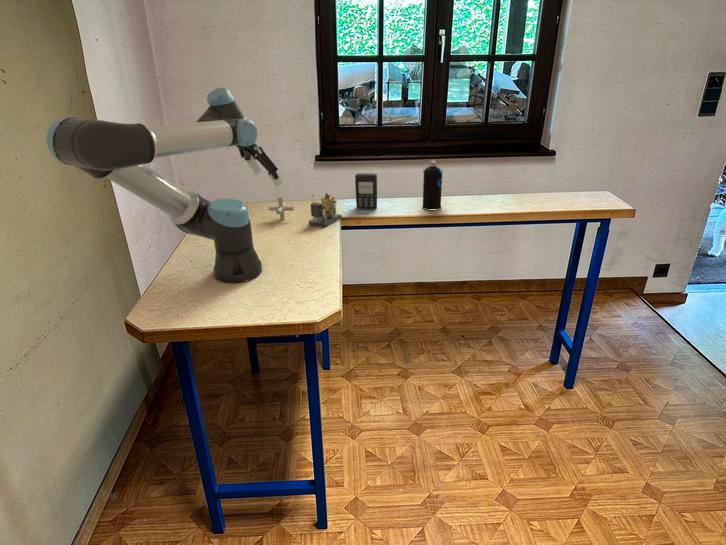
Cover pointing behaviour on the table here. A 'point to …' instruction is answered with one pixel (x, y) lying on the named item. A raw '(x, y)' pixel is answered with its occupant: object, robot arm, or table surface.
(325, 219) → the bolt plate
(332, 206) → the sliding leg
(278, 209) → the pipe connector
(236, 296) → the table surface
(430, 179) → the aerosol can
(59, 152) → the robot arm
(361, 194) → the card reader
